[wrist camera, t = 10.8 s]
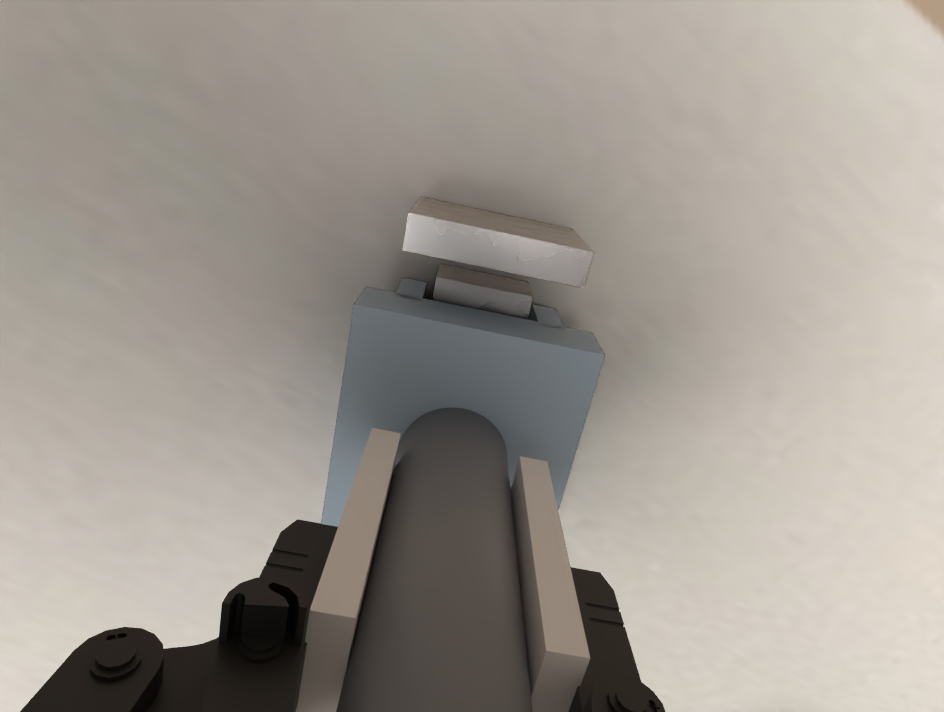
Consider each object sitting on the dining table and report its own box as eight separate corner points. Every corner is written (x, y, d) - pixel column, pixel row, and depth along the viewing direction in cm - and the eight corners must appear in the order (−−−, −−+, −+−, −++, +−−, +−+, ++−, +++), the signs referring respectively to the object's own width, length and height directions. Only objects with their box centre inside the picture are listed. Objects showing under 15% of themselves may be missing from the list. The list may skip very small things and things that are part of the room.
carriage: (375, 272, 20) (159, 588, 6) (581, 314, 21) (800, 695, 7) (342, 479, 23) (139, 1022, 9) (525, 512, 24) (601, 1078, 10)
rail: (421, 196, 20) (408, 212, 16) (572, 229, 20) (594, 251, 17) (331, 700, 27) (308, 790, 24) (443, 717, 28) (438, 810, 24)
